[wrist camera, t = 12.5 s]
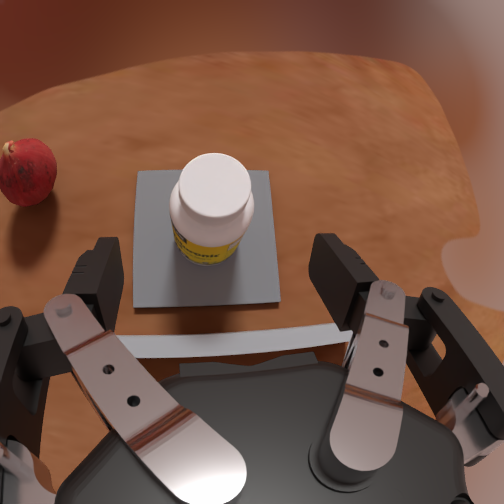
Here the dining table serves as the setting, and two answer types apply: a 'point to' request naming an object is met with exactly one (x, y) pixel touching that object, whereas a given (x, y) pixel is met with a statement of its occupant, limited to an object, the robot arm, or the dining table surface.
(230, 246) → the supplement bottle
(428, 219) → the dining table surface
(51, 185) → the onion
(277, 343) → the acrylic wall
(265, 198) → the slate mat
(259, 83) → the dining table surface
